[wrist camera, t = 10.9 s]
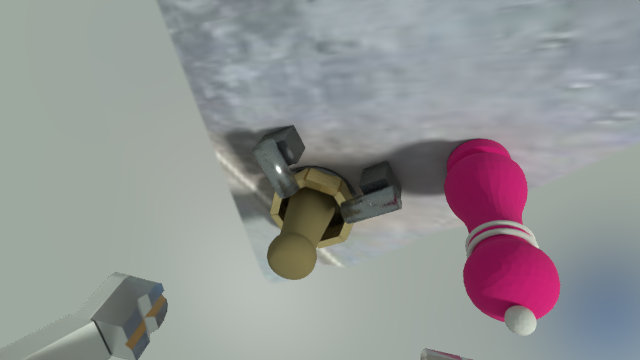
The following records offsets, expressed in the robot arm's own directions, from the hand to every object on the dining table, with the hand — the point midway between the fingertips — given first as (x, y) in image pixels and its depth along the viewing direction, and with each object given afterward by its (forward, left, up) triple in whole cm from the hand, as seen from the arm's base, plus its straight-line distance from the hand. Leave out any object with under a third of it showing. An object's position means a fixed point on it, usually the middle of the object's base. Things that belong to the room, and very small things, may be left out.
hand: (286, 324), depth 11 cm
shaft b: (+5, -13, -29) cm, 32 cm away
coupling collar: (-1, -19, -29) cm, 35 cm away
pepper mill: (+14, -7, -29) cm, 33 cm away
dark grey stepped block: (-6, -13, -29) cm, 32 cm away
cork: (-1, -19, -29) cm, 34 cm away
